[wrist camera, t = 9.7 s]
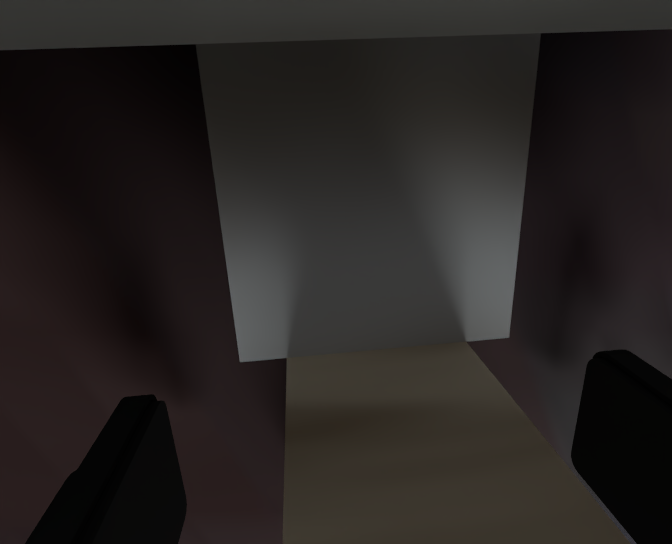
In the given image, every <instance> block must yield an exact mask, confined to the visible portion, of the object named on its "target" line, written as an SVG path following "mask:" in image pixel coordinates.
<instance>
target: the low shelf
mask: <svg viewBox="0 0 672 544" xmlns="http://www.w3.org/2000/svg"><path fill="white" fill-rule="evenodd" d="M660 29H672V0H0V50H25V49H57V48H89V47H121V46H152V45H184V44H216V43H247V42H279V41H311V40H342V39H374V38H406V37H438V36H469V35H501V34H533V33H564V32H596V31H628V30H660Z"/></svg>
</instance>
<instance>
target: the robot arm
mask: <svg viewBox="0 0 672 544" xmlns="http://www.w3.org/2000/svg"><path fill="white" fill-rule="evenodd" d="M571 458H572V462H573V465H574V467H575V469H576V470H577V472H578V473H579V474H580V475H581V477H582V478H583V479H584V480H585V481H586V483H587V484H588V485H589V486H590V487H591V489H592V490H593V491H594V492H595V494H596V495H597V496H598V497H599V498H600V500H601V501H602V502H603V503H604V504H605V506H606V507H607V508H608V509H609V510H610V512H611V513H612V514H613V515H614V516H615V518H616V519H617V520H618V521H619V523H620V524H621V525H622V526H623V527H624V529H625V530H626V531H627V532H628V533H629V535H630V536H631V537H632V538H633V539H634V541H635V542H636V543H637V544H672V379H670V378H669V377H667V376H666V375H664V374H663V373H661V372H660V371H658V370H657V369H655V368H654V367H652V366H651V365H649V364H648V363H646V362H645V361H643V360H642V359H640V358H639V357H637V356H636V355H634V354H633V353H631V352H629V351H627V350H612V351H602V352H598V353H596V354H595V355H594V356H593V359H591V360H590V361H589V362H588V364H587V368H586V374H585V379H584V385H583V390H582V396H581V401H580V407H579V412H578V418H577V423H576V429H575V434H574V440H573V445H572V451H571ZM186 506H187V503H186V495H185V490H184V485H183V481H182V476H181V472H180V467H179V462H178V458H177V453H176V449H175V444H174V439H173V435H172V430H171V426H170V421H169V416H168V412H167V407H166V404H165V402H164V401H157V399H156V397H155V396H154V395H141V396H131V397H124V398H123V399H122V400H121V401H120V402H119V404H118V406H117V407H116V409H115V410H114V412H113V414H112V415H111V417H110V418H109V420H108V422H107V423H106V425H105V426H104V428H103V429H102V431H101V433H100V434H99V436H98V437H97V439H96V441H95V442H94V444H93V445H92V447H91V449H90V450H89V452H88V453H87V455H86V457H85V458H84V460H83V461H82V463H81V465H80V466H79V468H78V469H77V470H76V471H74V472H73V473H71V474H70V476H69V477H68V478H67V479H66V481H65V482H64V484H63V485H62V487H61V488H60V490H59V491H58V493H57V495H56V496H55V498H54V499H53V501H52V502H51V504H50V505H49V507H48V509H47V510H46V512H45V513H44V515H43V516H42V518H41V520H40V521H39V523H38V524H37V526H36V527H35V529H34V530H33V532H32V534H31V535H30V537H29V538H28V540H27V541H26V543H25V544H178V542H179V538H180V534H181V531H182V527H183V523H184V520H185V516H186Z"/></svg>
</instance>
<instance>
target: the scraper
mask: <svg viewBox="0 0 672 544" xmlns="http://www.w3.org/2000/svg"><path fill="white" fill-rule="evenodd" d="M540 38H541V33H533V34H501V35H469V36H438V37H406V38H374V39H342V40H311V41H279V42H247V43H216V44H196V51H197V58H198V65H199V73H200V80H201V87H202V94H203V101H204V108H205V116H206V123H207V130H208V137H209V144H210V151H211V158H212V166H213V173H214V180H215V187H216V194H217V201H218V209H219V216H220V223H221V230H222V237H223V244H224V251H225V259H226V266H227V273H228V280H229V287H230V294H231V302H232V309H233V316H234V323H235V330H236V337H237V344H238V352H239V359H240V362H248V361H259V360H270V359H281V358H287V372H286V418H285V465H284V512H283V544H630V542H629V541H628V540H627V539H626V537H625V536H624V535H623V534H622V533H621V531H620V530H619V529H618V528H617V526H616V525H615V524H614V523H613V521H612V520H611V519H610V518H609V517H608V515H607V514H606V513H605V512H604V510H603V509H602V508H601V507H600V505H599V504H598V503H597V502H596V501H595V499H594V498H593V497H592V496H591V494H590V493H589V492H588V491H587V490H586V488H585V487H584V486H583V485H582V483H581V482H580V481H579V480H578V478H577V477H576V476H575V475H574V474H573V472H572V471H571V470H570V469H569V467H568V466H567V465H566V464H565V463H564V461H563V460H562V459H561V458H560V456H559V455H558V454H557V453H556V451H555V450H554V449H553V448H552V447H551V445H550V444H549V443H548V442H547V440H546V439H545V438H544V437H543V435H542V434H541V433H540V432H539V431H538V429H537V428H536V427H535V426H534V424H533V423H532V422H531V421H530V420H529V418H528V417H527V416H526V415H525V413H524V412H523V411H522V410H521V408H520V407H519V406H518V405H517V404H516V402H515V401H514V400H513V399H512V397H511V396H510V395H509V394H508V392H507V391H506V390H505V389H504V388H503V386H502V385H501V384H500V383H499V381H498V380H497V379H496V378H495V377H494V375H493V374H492V373H491V372H490V370H489V369H488V368H487V367H486V365H485V364H484V363H483V362H482V361H481V359H480V358H479V357H478V356H477V354H476V353H475V352H474V351H473V350H472V348H471V347H470V346H469V345H468V343H467V341H478V340H488V339H499V338H509V332H510V323H511V313H512V304H513V294H514V285H515V275H516V266H517V256H518V247H519V237H520V228H521V218H522V209H523V199H524V190H525V180H526V171H527V161H528V152H529V142H530V133H531V123H532V114H533V104H534V95H535V85H536V76H537V66H538V57H539V47H540Z"/></svg>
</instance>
